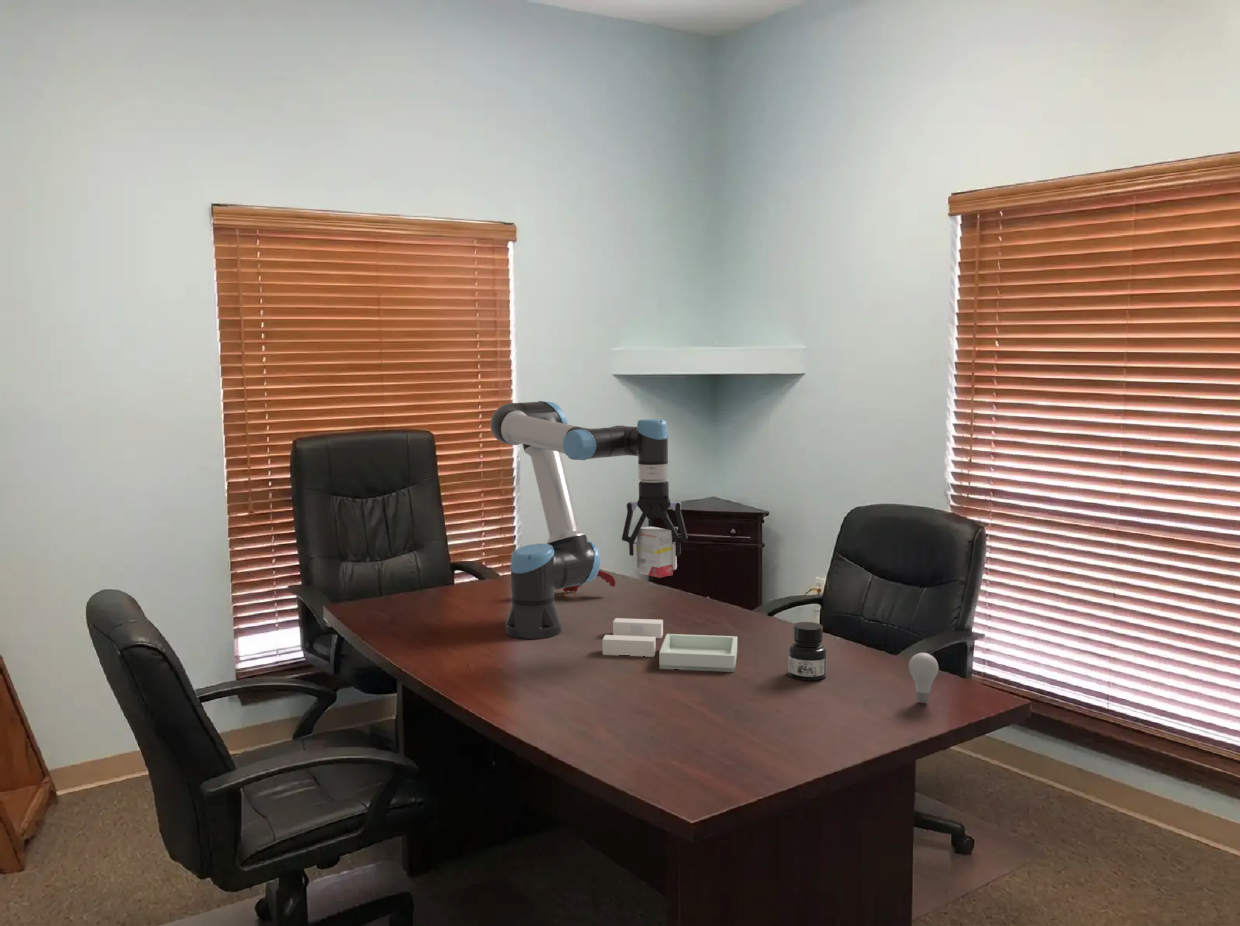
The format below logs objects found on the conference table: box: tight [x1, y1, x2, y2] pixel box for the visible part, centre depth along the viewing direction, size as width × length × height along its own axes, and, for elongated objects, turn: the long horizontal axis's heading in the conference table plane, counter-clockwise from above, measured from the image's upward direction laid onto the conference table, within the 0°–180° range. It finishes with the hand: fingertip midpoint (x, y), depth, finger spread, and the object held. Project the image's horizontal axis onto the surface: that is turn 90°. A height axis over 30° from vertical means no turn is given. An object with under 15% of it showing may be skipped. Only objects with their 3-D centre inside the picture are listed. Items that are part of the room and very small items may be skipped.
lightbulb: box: [908, 652, 940, 704], centre depth 208 cm, size 6×6×11 cm
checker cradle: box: [602, 617, 664, 658], centre depth 253 cm, size 13×20×4 cm, turn 171°
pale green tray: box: [658, 633, 738, 673], centre depth 239 cm, size 18×16×4 cm
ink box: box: [636, 526, 674, 579], centre depth 245 cm, size 9×5×12 cm, turn 39°
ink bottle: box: [787, 621, 828, 681], centre depth 227 cm, size 10×9×12 cm
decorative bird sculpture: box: [562, 569, 616, 598], centre depth 303 cm, size 28×9×15 cm
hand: (655, 568), depth 246 cm, fingers closed on ink box, 9 cm apart
